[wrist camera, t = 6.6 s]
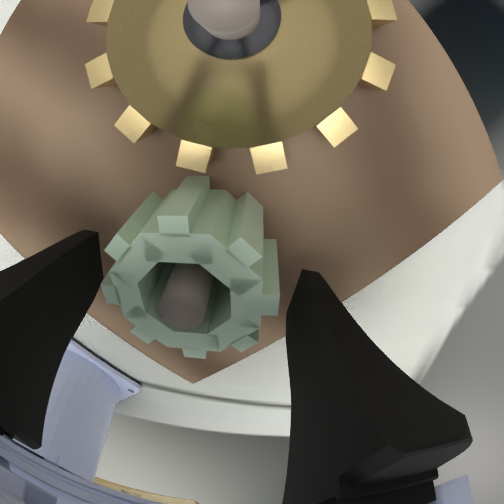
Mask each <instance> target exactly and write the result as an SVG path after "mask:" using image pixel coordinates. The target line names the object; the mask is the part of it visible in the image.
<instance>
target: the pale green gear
mask: <svg viewBox="0 0 504 504" xmlns="http://www.w3.org/2000/svg"><path fill="white" fill-rule="evenodd" d="M104 251H105V252H106V253H107V254H109V255H110V256H111V257H112V258H113V259H115V260H116V262H115V263H114V265H113V266H112V268H111V269H110V271H109V272H108V274H107V275H106V277H105V278H104V280H103V281H102V283H101V284H100V285H101V288H102V291H103V294H104V297H105V300H106V302H107V304H116V305H120V308H121V311H122V313H123V316H124V317H125V318H126V319H127V320H129V321H130V322H131V323H133V326H132V329H131V331H130V332H131V333H133V334H134V335H135V336H137V337H138V338H140V339H141V340H143V341H144V342H146V343H147V344H149V343H150V342H151V341H153V340H154V339H156V340H158V341H159V342H161V343H162V344H164V345H165V346H167V347H172V348H182V350H183V354H184V357H190V358H201V359H206V354H207V351H217V352H220V351H222V350H224V349H225V348H227V347H229V346H232V347H234V348H236V349H237V350H239V351H240V352H243V351H245V350H246V349H248V348H250V347H252V346H254V345H255V344H257V343H258V340H259V328H260V326H261V315H268V316H278V309H279V299H280V289H279V271H278V254H277V239H264V225H263V206H262V205H261V204H260V203H259V202H258V201H257V200H256V199H255V198H254V197H253V196H252V195H251V194H250V193H249V192H248V191H247V192H246V193H245V194H243V195H242V196H241V197H240V198H239V199H238V200H236V199H235V198H234V197H233V196H232V195H231V194H230V193H229V192H228V191H227V190H225V189H210V176H186V177H185V179H184V180H183V181H182V183H181V184H180V185H179V187H178V188H177V189H173V190H172V191H171V192H170V193H169V194H168V195H167V196H166V197H165V199H162V198H161V197H160V196H159V195H158V194H157V193H156V192H155V191H153V192H152V193H151V194H150V195H149V196H148V197H147V199H146V200H145V201H144V202H143V203H142V204H141V205H140V206H139V208H138V209H137V210H136V211H135V212H134V213H133V215H132V216H131V217H130V218H129V219H128V220H127V222H126V223H125V224H124V225H123V226H122V228H121V229H120V230H119V231H118V232H117V234H116V235H115V236H114V238H113V239H112V240H111V242H110V243H109V244H108V246H107V247H106V249H105V250H104ZM175 263H192V264H200V265H201V266H202V267H203V268H205V269H206V270H207V271H208V272H210V273H211V274H212V275H213V276H214V277H213V282H212V286H211V290H210V295H209V299H208V303H207V308H206V312H205V317H204V320H203V322H202V324H201V325H199V326H198V327H196V328H193V329H180V328H176V327H174V326H172V325H170V324H168V323H167V322H165V321H164V320H163V319H162V317H161V316H160V314H159V311H158V304H159V302H160V299H161V297H162V294H163V292H164V289H165V287H166V284H167V282H168V280H169V277H170V275H171V273H172V270H173V268H174V266H175Z"/></svg>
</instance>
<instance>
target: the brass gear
mask: <svg viewBox="0 0 504 504" xmlns="http://www.w3.org/2000/svg"><path fill="white" fill-rule="evenodd" d="M394 21H397V17H396V13H395V10H394V6H393V3H392V0H260V21H259V24H258V26H257V27H256V28H255V30H254V31H253V32H252V33H250V34H249V35H247V36H245V37H243V38H240V39H236V40H224V39H220V38H217V37H215V36H213V35H212V34H210V33H209V32H208V31H207V30H206V29H205V28H203V27H202V26H201V25H200V24H199V23H198V22H197V21H195V20H194V18H193V17H192V16H191V14H190V12H189V9H188V0H93V2H92V5H91V8H90V11H89V14H88V18H87V21H86V22H87V23H92V24H96V25H101V26H105V27H107V34H106V46H107V53H104V54H103V55H101V56H99V57H97V58H95V59H93V60H91V61H90V62H88V63H86V64H85V67H86V70H87V74H88V78H89V82H90V85H91V89H95V88H103V87H111V86H115V85H118V87H119V89H120V91H121V92H122V94H123V95H124V97H125V98H126V99H127V101H128V102H129V103H130V104H131V105H129V106H128V108H127V109H126V110H125V111H124V113H123V114H122V115H121V117H120V118H119V119H118V121H117V122H116V123H115V125H114V126H115V127H116V128H117V129H119V130H120V131H121V132H122V133H123V134H124V135H125V136H126V137H127V138H128V139H129V140H131V141H132V142H133V143H134V144H135V143H137V142H139V141H140V140H142V139H144V138H146V137H148V136H150V135H152V133H153V132H154V131H155V130H156V129H157V128H160V129H161V130H163V131H165V132H167V133H169V134H171V135H174V136H176V137H178V138H180V139H182V140H181V144H180V149H179V153H178V158H177V162H176V166H178V167H182V168H186V169H190V170H194V171H198V172H202V173H206V171H207V170H208V168H209V166H210V165H211V163H212V162H213V160H214V156H215V153H216V149H217V147H224V148H244V147H250V151H251V155H252V159H253V163H254V167H255V171H256V175H257V174H262V173H267V172H272V171H277V170H283V169H288V168H287V163H286V159H285V154H284V149H283V144H282V140H285V139H288V138H290V137H293V136H295V135H298V134H300V133H302V132H304V131H306V130H308V129H310V128H312V127H315V128H316V129H317V130H318V131H319V133H320V134H321V135H322V136H323V137H324V138H325V139H326V140H327V141H328V142H329V143H330V144H331V145H332V146H333V147H336V146H337V145H338V144H340V143H341V142H342V141H343V140H345V139H346V138H347V137H348V136H350V135H351V134H352V133H354V132H355V131H356V130H357V129H358V128H357V127H356V125H355V124H354V123H353V122H352V120H351V119H350V118H349V116H348V115H347V114H346V113H345V111H344V110H343V109H342V108H341V107H340V106H341V105H342V103H343V102H344V101H345V100H346V99H347V98H348V96H349V95H350V94H351V93H352V91H353V90H354V88H355V87H356V85H357V84H359V85H361V86H364V87H366V88H368V89H373V90H382V91H387V88H388V85H389V83H390V80H391V77H392V74H393V72H394V69H395V66H396V65H395V64H394V63H392V62H390V61H388V60H386V59H384V58H382V57H380V56H378V55H376V54H374V53H372V52H370V50H371V42H372V27H381V26H384V25H386V24H389V23H391V22H394Z"/></svg>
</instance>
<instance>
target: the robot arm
mask: <svg viewBox="0 0 504 504" xmlns="http://www.w3.org/2000/svg"><path fill="white" fill-rule="evenodd" d="M103 278H104V275H103V268H102V260H101V252H100V242H99V232H96V231H90V230H82V231H79V232H77V233H75V234H73V235H70V236H68V237H66V238H64V239H63V240H61V241H59V242H57V243H55V244H53V245H51V246H49V247H47V248H45V249H44V250H42V251H40V252H38V253H36V254H34V255H32V256H30V257H28V258H26V259H24V260H22V261H21V262H19V263H17V264H15V265H13V266H11V267H9V268H6V269H4V270H2V271H0V504H165V503H160V502H156V501H152V500H148V499H144V498H140V497H137V496H133V495H130V494H126V493H123V492H120V491H117V490H114V489H111V488H108V487H105V486H102V485H99V484H97V483H94V478H95V475H96V471H97V467H98V464H99V460H100V457H101V453H102V450H103V446H104V443H105V439H106V436H107V433H108V430H109V427H110V423H111V420H112V417H113V414H114V411H115V408H116V405H117V403H118V402H120V401H122V400H124V399H126V398H128V397H130V396H132V395H134V394H137V393H139V392H140V391H141V386H140V385H139V384H138V383H136V382H134V381H133V380H131V379H129V378H128V377H126V376H125V375H123V374H121V373H120V372H118V371H117V370H115V369H114V368H112V367H110V366H109V365H107V364H106V363H104V362H103V361H101V360H100V359H99V358H97V357H96V356H94V355H93V354H91V353H90V352H88V351H87V350H86V349H84V348H83V347H82V346H80V345H79V344H77V343H76V342H75V341H73V340H72V338H73V336H74V334H75V332H76V330H77V329H78V327H79V325H80V323H81V322H82V320H83V318H84V317H85V315H86V313H87V311H88V310H89V308H90V306H91V304H92V303H93V301H94V299H95V297H96V295H97V292H98V290H99V288H100V284H101V283H102V281H103ZM286 347H287V358H288V367H289V378H290V388H291V428H290V445H289V457H288V467H287V476H286V483H285V491H284V497H283V503H282V504H473V499H472V493H471V488H470V484H469V479H468V476H467V475H464V476H461V477H459V478H457V479H454V480H451V481H449V482H446V483H443V484H441V485H438V486H436V487H434V483H433V480H435V479H437V478H438V470H437V468H438V467H439V466H441V465H443V464H444V463H446V462H448V461H450V460H451V459H453V458H455V457H456V456H458V455H459V454H461V453H462V452H464V451H465V450H466V449H467V448H468V447H469V446H470V445H471V443H472V441H473V439H472V436H471V433H470V429H469V426H468V423H467V420H466V417H465V415H463V414H462V413H460V412H459V411H457V410H456V409H454V408H452V407H451V406H449V405H447V404H446V403H444V402H442V401H441V400H439V399H438V398H436V397H435V396H434V395H432V394H431V393H429V392H428V391H426V390H425V389H424V388H423V387H421V386H420V385H419V384H418V383H416V382H415V381H414V380H413V379H411V378H410V377H409V376H408V375H407V374H406V373H404V372H403V371H402V370H401V369H400V368H399V367H398V366H396V365H395V364H394V363H393V362H392V361H391V360H390V359H389V358H388V357H387V356H386V355H385V354H384V353H383V352H382V351H381V350H380V349H379V348H378V347H377V346H376V345H375V343H374V342H373V341H372V340H371V339H370V338H369V337H368V336H367V334H366V333H365V332H364V331H363V330H362V328H361V327H360V326H359V325H358V324H357V322H356V321H355V320H354V319H353V317H352V316H351V315H350V313H349V312H348V311H347V309H346V308H345V307H344V305H343V304H342V303H341V301H340V300H339V299H338V297H337V296H336V294H335V293H334V292H333V290H332V289H331V288H330V286H329V285H328V283H327V282H326V281H325V279H324V278H323V277H322V275H321V274H320V273H319V272H315V271H310V270H304V269H302V271H301V273H300V276H299V279H298V282H297V285H296V287H295V290H294V293H293V296H292V299H291V301H290V304H289V307H288V309H287V312H286Z"/></svg>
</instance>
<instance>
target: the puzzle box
mask: <svg viewBox="0 0 504 504" xmlns="http://www.w3.org/2000/svg"><path fill="white" fill-rule="evenodd" d="M94 483H97V484H99V485H102V486H105V487H108V488H111V489H114V490H117V491H120V492H123V493H126V494H130V495H133V496H137V497H140V498H144V499H148V500H152V501H156V502H160V503H165V504H199V503H198V502H197V501H195V500H187V499H181V498H175V497H170V496H165V495H160V494H155V493H150V492H146V491H142V490H138V489H134V488H130V487H126V486H123V485H120V484H116V483H113V482H110V481H107V480H104V479H101V478H98V477H95V478H94Z"/></svg>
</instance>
